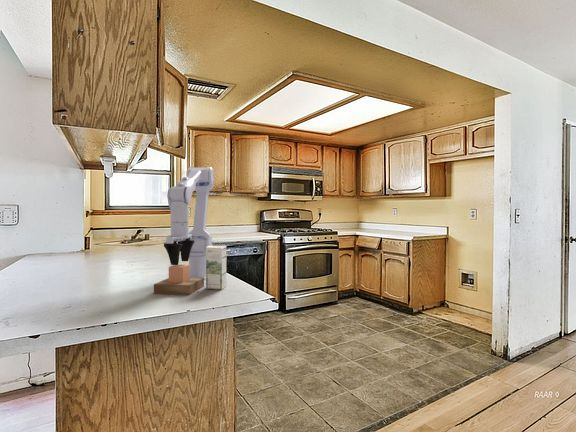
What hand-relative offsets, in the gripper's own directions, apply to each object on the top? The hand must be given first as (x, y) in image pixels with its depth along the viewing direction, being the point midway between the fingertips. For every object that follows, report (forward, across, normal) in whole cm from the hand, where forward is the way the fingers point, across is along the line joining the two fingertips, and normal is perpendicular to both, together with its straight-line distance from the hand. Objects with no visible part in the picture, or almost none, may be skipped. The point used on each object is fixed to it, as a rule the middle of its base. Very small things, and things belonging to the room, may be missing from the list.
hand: (179, 262), depth 112 cm
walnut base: (+9, 0, 0) cm, 9 cm away
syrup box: (+9, -4, +11) cm, 15 cm away
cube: (+6, 0, 0) cm, 6 cm away
